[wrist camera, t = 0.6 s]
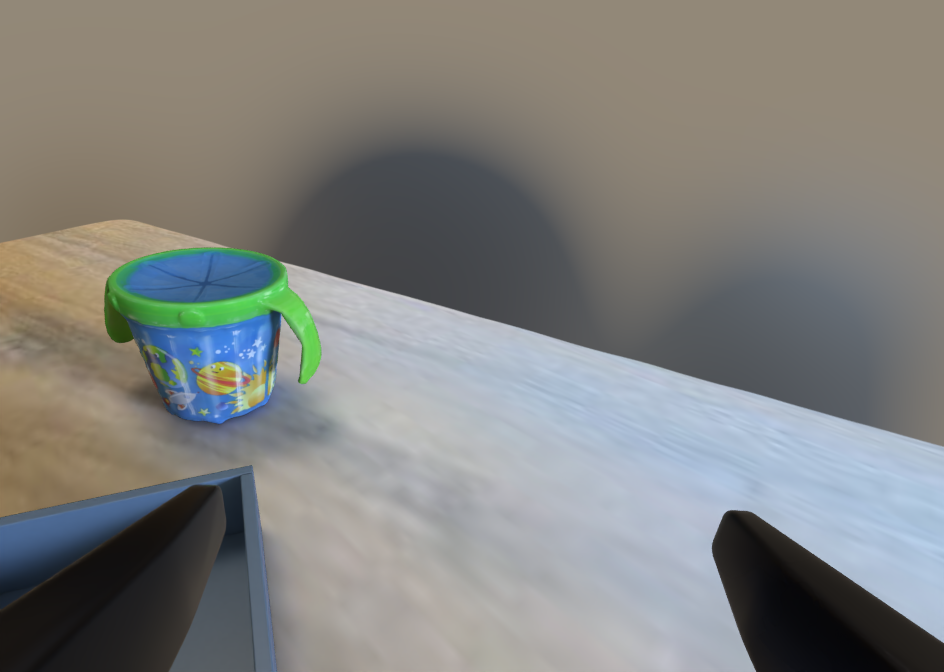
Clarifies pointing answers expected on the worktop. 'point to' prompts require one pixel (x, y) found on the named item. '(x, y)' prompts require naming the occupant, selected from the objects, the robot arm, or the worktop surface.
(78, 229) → the worktop surface
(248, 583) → the basin
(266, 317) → the snack cup
